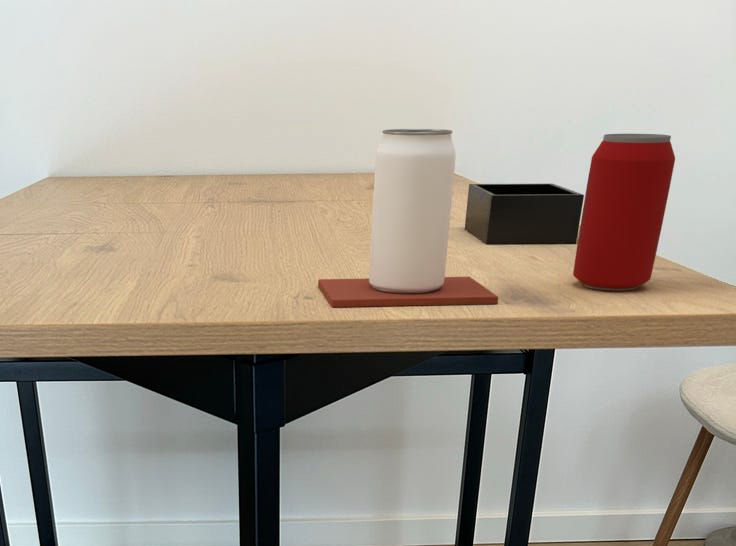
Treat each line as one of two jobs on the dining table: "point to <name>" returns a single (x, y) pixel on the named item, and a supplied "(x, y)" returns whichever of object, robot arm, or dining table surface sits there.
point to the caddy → (523, 213)
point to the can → (411, 210)
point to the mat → (366, 295)
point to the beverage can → (623, 211)
